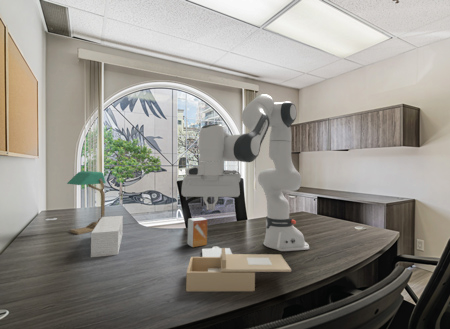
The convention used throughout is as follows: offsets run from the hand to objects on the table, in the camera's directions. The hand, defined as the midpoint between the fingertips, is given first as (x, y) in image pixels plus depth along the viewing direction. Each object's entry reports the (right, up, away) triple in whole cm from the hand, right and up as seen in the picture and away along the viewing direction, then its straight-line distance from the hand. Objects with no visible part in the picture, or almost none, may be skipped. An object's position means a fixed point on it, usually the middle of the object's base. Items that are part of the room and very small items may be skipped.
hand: (210, 209), depth 83 cm
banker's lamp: (-76, -24, +60) cm, 99 cm away
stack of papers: (-53, -24, +35) cm, 68 cm away
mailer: (+3, -25, 0) cm, 25 cm away
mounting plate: (+2, -26, +22) cm, 34 cm away
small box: (-9, -25, +37) cm, 46 cm away
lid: (+15, -19, 0) cm, 24 cm away
